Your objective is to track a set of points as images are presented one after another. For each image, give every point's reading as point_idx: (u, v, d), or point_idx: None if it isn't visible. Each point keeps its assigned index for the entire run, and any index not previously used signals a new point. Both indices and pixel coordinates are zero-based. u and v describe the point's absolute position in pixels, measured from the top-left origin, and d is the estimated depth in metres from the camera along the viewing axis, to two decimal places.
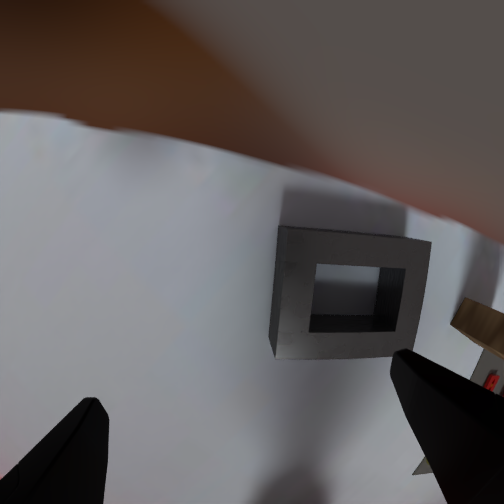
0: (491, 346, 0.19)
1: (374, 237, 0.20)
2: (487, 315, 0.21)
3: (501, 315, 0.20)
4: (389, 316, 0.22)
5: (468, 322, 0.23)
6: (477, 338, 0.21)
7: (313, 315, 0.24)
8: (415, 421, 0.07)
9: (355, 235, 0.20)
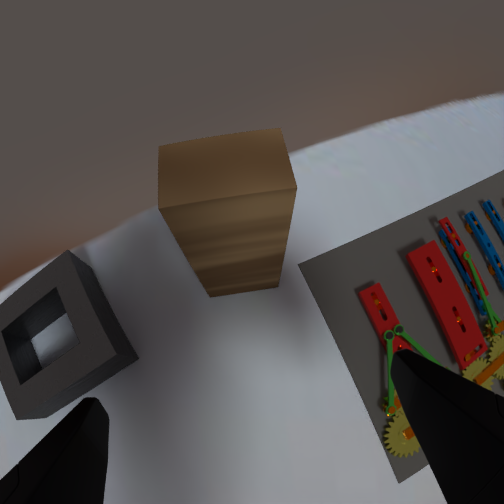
0: (192, 267, 0.17)
1: (23, 285, 0.19)
2: None
3: None
4: None
5: None
6: None
7: None
8: (415, 421, 0.07)
9: (12, 294, 0.19)
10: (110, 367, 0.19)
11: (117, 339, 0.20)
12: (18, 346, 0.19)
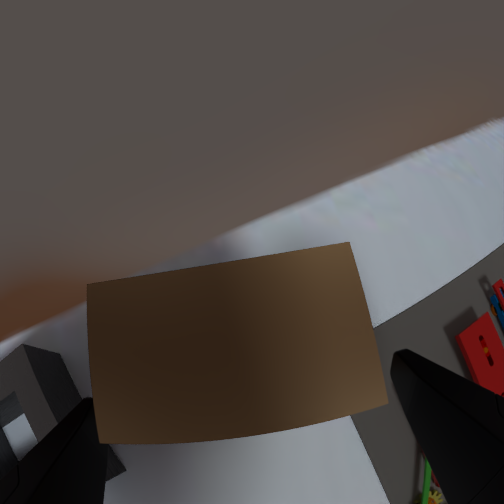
0: None
1: None
2: None
3: None
4: None
5: None
6: None
7: None
8: (415, 421, 0.07)
9: None
10: None
11: None
12: None
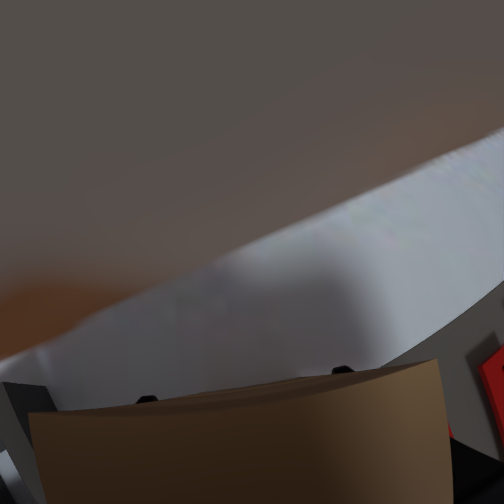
0: None
1: None
2: None
3: None
4: None
5: None
6: None
7: None
8: None
9: None
10: None
11: None
12: None
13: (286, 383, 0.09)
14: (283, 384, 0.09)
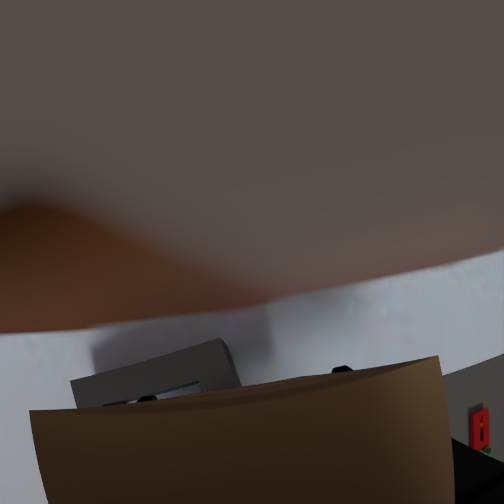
0: None
1: (145, 362, 0.18)
2: None
3: None
4: None
5: None
6: None
7: None
8: None
9: (126, 367, 0.18)
10: None
11: None
12: None
13: (287, 382, 0.09)
14: (284, 383, 0.09)
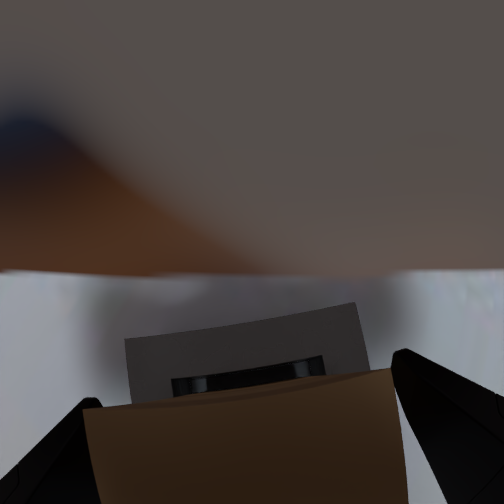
0: None
1: (250, 323, 0.14)
2: None
3: None
4: None
5: None
6: None
7: None
8: (415, 421, 0.07)
9: (218, 328, 0.14)
10: None
11: None
12: None
13: (283, 382, 0.10)
14: (280, 383, 0.10)
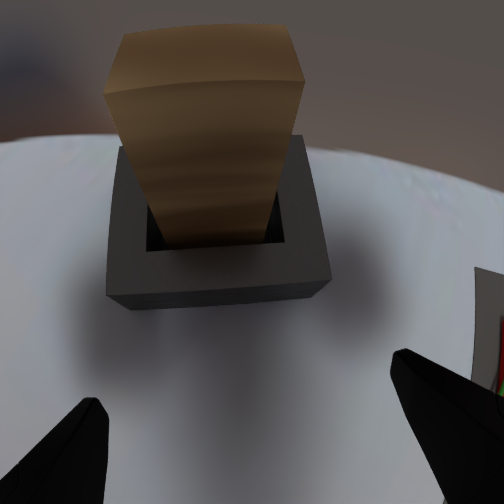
0: (152, 211, 0.13)
1: None
2: None
3: None
4: (279, 238, 0.17)
5: None
6: None
7: None
8: (415, 421, 0.07)
9: None
10: (293, 291, 0.16)
11: None
12: None
13: None
14: None
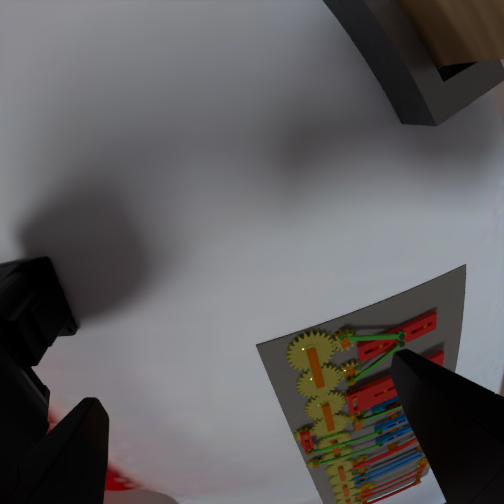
0: None
1: None
2: None
3: None
4: None
5: None
6: None
7: None
8: (415, 421, 0.07)
9: None
10: (409, 103, 0.16)
11: None
12: None
13: None
14: None
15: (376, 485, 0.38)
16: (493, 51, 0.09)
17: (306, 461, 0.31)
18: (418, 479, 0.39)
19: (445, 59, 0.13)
